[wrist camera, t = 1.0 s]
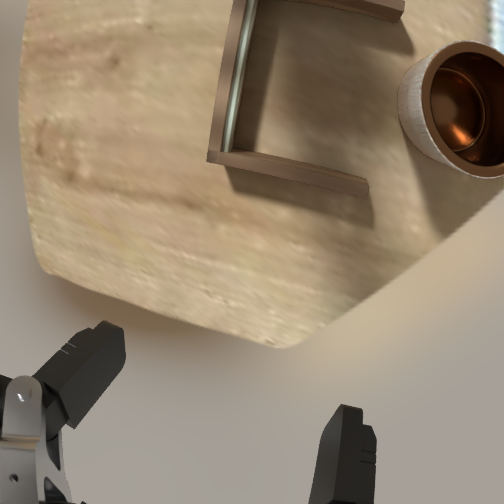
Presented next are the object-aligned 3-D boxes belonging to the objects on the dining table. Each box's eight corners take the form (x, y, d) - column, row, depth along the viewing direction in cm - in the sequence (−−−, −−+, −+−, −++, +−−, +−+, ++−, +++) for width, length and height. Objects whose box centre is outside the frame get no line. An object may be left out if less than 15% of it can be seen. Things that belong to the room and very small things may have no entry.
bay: (250, -12, 25) (239, -26, 21) (398, 13, 22) (405, 1, 19) (220, 156, 33) (206, 161, 30) (363, 190, 31) (366, 199, 27)
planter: (466, 49, 22) (507, 30, 13) (501, 147, 25) (549, 161, 16) (377, 73, 26) (393, 55, 17) (417, 175, 29) (445, 198, 20)
